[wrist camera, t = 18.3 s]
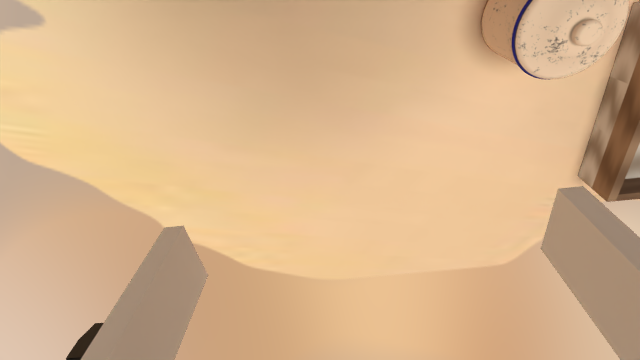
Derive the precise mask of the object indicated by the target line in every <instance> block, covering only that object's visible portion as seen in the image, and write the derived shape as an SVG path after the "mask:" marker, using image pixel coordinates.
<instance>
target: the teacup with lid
mask: <svg viewBox="0 0 640 360" xmlns="http://www.w3.org/2000/svg"><path fill="white" fill-rule="evenodd" d="M628 8H629V0H489V1H488V2H487V5H486V7H485V10H484V13H483V17H482V34H483V38H484V40H485V42H486V44H487V45H488V47H489V48H490V49H491V50H492V51H494V52H495V53H497V54H499V55H501V56H502V57H504V58H506V59H508V60H510V61H511V62H513V63H515V64H517V65H518V66H519V67H520V68H521V69H522V70H523V71H524V72H525V73H527V74H528V75H530V76H533V77H535V78H539V79H560V78H565V77H568V76H571V75H574V74H576V73H579V72H581V71H583V70H585V69H586V68H588V67H590V66H591V65H593V64H594V63H595V62H597V61H598V60H599V59H600V58H601V57H602V56H603V55H604V54H605V53H606V52H607V51H608V50H609V49H610V48H611V47H612V45H613V44H614V43H615V41H616V40H617V38H618V37H619V35H620V33H621V31H622V29H623V27H624V25H625V22H626V19H627V15H628Z"/></svg>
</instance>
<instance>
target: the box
mask: <svg viewBox="0 0 640 360" xmlns="http://www.w3.org/2000/svg"><path fill="white" fill-rule="evenodd" d="M578 177H579V178H581V179H582V180H583V181H584V182H585V183H586V184H587V185H589V186H590V187H591V188H592V189H593V190H594V191H595V192H597V193H598V194H599V195H600V196H601V197H602V198H603V199H604V200H606V201H607V202H610V201H620V200H632V199H640V2H637V3H633V6H632V10H631V13H630V16H629V19H628V22H627V25H626V28H625V31H624V34H623V38H622V41H621V44H620V47H619V50H618V53H617V56H616V59H615V62H614V66H613V69H612V72H611V75H610V78H609V81H608V84H607V87H606V90H605V94H604V97H603V100H602V103H601V106H600V109H599V112H598V115H597V118H596V122H595V125H594V128H593V131H592V134H591V137H590V140H589V143H588V146H587V150H586V153H585V156H584V159H583V162H582V165H581V168H580V171H579V175H578Z"/></svg>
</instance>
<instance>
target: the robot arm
mask: <svg viewBox="0 0 640 360" xmlns="http://www.w3.org/2000/svg"><path fill="white" fill-rule="evenodd" d="M541 250H542V251H543V252H544V254H545V255H546V257H547V258H548V259H549V261H550V262H551V264H552V265H553V266H554V268H555V269H556V270H557V272H558V273H559V275H560V276H561V277H562V279H563V280H564V282H565V283H566V284H567V286H568V287H569V289H570V290H571V291H572V293H573V294H574V295H575V297H576V298H577V300H578V301H579V302H580V304H581V305H582V307H583V308H584V310H585V311H586V312H587V314H588V315H589V317H590V318H591V319H592V321H593V322H594V323H595V325H596V326H597V328H598V329H599V330H600V332H601V333H602V335H603V336H604V337H605V339H606V340H607V342H608V343H609V344H610V346H611V347H612V349H613V350H614V351H615V353H616V354H617V355H618V357H619V358H620V360H640V237H638V236H637V235H636V234H635V233H634V232H633V231H632V230H631V229H630V228H629V227H627V226H626V225H625V224H624V223H623V222H622V221H621V220H620V219H618V217H616V216H615V215H614V214H613V213H612V212H611V211H610V210H609V209H608V208H606V207H605V206H604V205H603V204H602V203H601V202H600V201H599V200H598V199H597V198H595V197H594V196H593V195H592V194H591V193H590V192H589V191H588V190H587V189H585V188H584V187H583V186H581V187H571V188H561V189H558V191H557V194H556V198H555V201H554V205H553V208H552V211H551V215H550V218H549V222H548V225H547V229H546V232H545V236H544V239H543V243H542V246H541ZM207 277H208V274H207V272H206V270H205V268H204V266H203V264H202V262H201V260H200V258H199V256H198V254H197V252H196V250H195V248H194V246H193V244H192V242H191V240H190V238H189V236H188V234H187V232H186V230H185V228H184V226H177V227H167V228H164V229H163V231H162V232H161V234H160V235H159V237H158V238H157V240H156V242H155V243H154V245H153V246H152V248H151V250H150V251H149V253H148V254H147V256H146V257H145V259H144V261H143V262H142V264H141V265H140V267H139V268H138V270H137V272H136V273H135V275H134V276H133V278H132V279H131V281H130V283H129V284H128V286H127V288H126V289H125V291H124V292H123V294H122V295H121V297H120V299H119V300H118V302H117V303H116V305H115V306H114V308H113V309H112V311H111V313H110V314H109V316H108V317H107V319H106V320H105V322H104V323H95V324H94V325H93V326H92V327H91V328H90V329H89V330H88V331H87V332H86V333H85V334H84V335H83V336H82V337H81V338H80V339H79V340H78V341H77V343H76V345H75V346H74V347H73V349H72V350H71V352H70V353H69V355H68V356H67V358H66V360H174V359H175V357H176V354H177V352H178V349H179V347H180V344H181V341H182V339H183V337H184V334H185V332H186V329H187V327H188V324H189V322H190V319H191V317H192V314H193V312H194V309H195V307H196V304H197V302H198V299H199V297H200V294H201V292H202V289H203V287H204V284H205V282H206V279H207Z"/></svg>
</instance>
